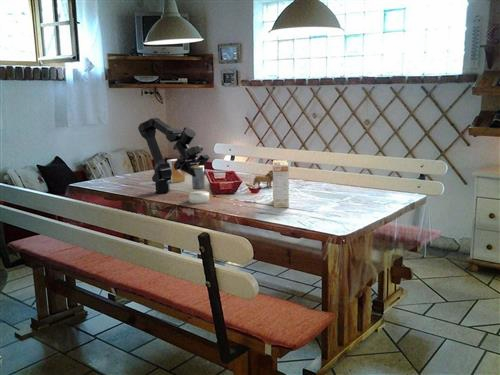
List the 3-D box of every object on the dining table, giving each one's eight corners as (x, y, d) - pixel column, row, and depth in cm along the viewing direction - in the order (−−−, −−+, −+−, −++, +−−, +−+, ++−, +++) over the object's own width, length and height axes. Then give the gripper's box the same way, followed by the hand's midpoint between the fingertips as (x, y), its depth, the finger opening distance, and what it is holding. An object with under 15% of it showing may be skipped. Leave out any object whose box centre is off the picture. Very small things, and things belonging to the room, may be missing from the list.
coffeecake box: (273, 200, 239) (272, 160, 235) (287, 199, 238) (287, 159, 234) (273, 207, 224) (272, 165, 220) (289, 207, 224) (288, 165, 220)
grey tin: (189, 189, 238) (188, 166, 236) (197, 186, 243) (196, 164, 241) (199, 190, 235) (198, 167, 233) (207, 187, 240) (206, 165, 238)
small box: (172, 183, 286) (171, 160, 283) (168, 181, 291) (166, 159, 288) (185, 181, 290) (184, 159, 288) (180, 179, 295) (179, 158, 293)
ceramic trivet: (187, 203, 236) (186, 195, 235) (191, 198, 246) (191, 191, 245) (207, 203, 235) (207, 195, 234) (211, 198, 245) (211, 191, 244)
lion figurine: (273, 184, 274) (272, 169, 273) (277, 186, 270) (277, 170, 268) (249, 187, 268) (249, 171, 266) (254, 189, 263) (253, 173, 261)
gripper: (175, 141, 230) (191, 167, 225) (206, 138, 244) (221, 162, 238) (166, 157, 238) (182, 182, 232) (196, 152, 251) (211, 176, 245)
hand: (200, 175), depth 237 cm, fingers closed on grey tin, 6 cm apart
